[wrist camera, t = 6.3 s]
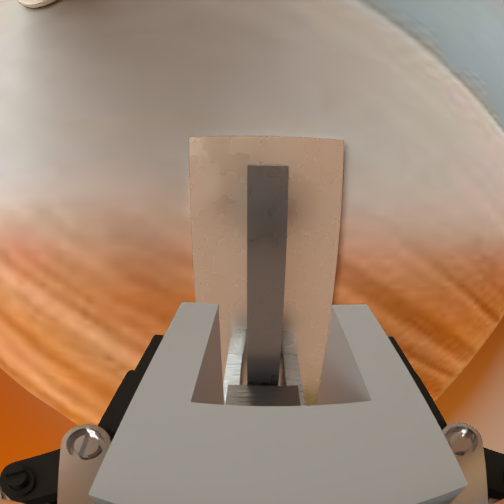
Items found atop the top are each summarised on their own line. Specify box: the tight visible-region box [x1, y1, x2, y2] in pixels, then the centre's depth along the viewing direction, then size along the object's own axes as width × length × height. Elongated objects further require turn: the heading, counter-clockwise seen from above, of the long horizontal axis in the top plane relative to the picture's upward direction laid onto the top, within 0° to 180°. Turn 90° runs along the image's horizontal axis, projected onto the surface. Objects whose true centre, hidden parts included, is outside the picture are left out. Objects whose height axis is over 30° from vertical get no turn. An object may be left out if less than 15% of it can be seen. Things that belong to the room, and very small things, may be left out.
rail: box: [189, 136, 344, 406], centre depth 21 cm, size 26×11×8 cm, turn 0°
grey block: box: [88, 302, 468, 504], centre depth 7 cm, size 5×6×7 cm
